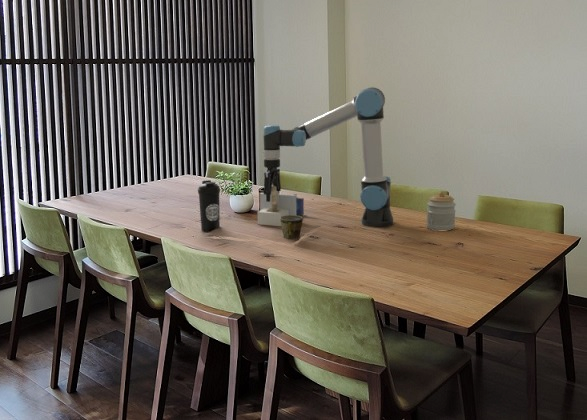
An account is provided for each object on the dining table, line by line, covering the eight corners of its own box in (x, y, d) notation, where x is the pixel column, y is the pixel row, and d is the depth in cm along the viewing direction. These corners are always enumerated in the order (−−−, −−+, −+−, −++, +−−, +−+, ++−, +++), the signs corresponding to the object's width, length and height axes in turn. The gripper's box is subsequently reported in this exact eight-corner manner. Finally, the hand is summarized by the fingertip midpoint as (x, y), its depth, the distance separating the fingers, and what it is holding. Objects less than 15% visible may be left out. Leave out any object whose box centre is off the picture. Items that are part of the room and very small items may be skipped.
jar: (421, 229, 326) (422, 191, 322) (434, 223, 336) (435, 187, 332) (447, 233, 318) (448, 195, 314) (459, 227, 328) (461, 190, 324)
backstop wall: (296, 223, 340) (296, 194, 337) (278, 235, 319) (278, 204, 316) (262, 220, 346) (261, 192, 343) (242, 231, 325) (241, 202, 322)
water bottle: (204, 233, 323) (202, 184, 318) (196, 228, 332) (194, 180, 327) (224, 230, 328) (223, 182, 322) (216, 226, 336) (214, 178, 331)
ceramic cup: (281, 236, 316) (281, 215, 314) (303, 236, 315) (303, 215, 313) (278, 244, 304) (278, 222, 301) (301, 244, 303) (301, 222, 300)
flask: (304, 215, 357) (304, 194, 354) (301, 216, 354) (301, 195, 352) (288, 213, 361) (288, 192, 359) (286, 214, 359) (285, 193, 356)
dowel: (278, 219, 337) (277, 186, 333) (275, 220, 333) (274, 187, 330) (271, 218, 338) (269, 185, 335) (267, 220, 334) (266, 187, 331)
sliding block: (288, 221, 338) (288, 209, 337) (281, 226, 329) (281, 213, 328) (265, 219, 343) (265, 207, 341) (257, 224, 333) (257, 211, 332)
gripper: (272, 155, 339) (273, 201, 344) (255, 161, 320) (256, 210, 324) (287, 156, 337) (287, 202, 341) (270, 161, 317) (271, 211, 322)
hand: (272, 206), depth 333 cm, fingers open, 8 cm apart
